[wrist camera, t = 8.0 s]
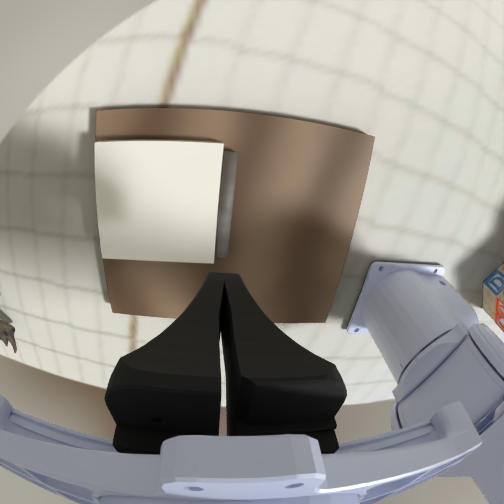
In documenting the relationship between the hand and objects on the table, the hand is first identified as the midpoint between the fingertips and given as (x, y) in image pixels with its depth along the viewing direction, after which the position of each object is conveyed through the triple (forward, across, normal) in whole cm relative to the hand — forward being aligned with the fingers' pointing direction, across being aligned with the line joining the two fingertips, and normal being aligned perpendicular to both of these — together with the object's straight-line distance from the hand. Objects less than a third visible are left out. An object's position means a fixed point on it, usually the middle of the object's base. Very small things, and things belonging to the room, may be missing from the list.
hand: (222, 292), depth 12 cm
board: (+9, 0, +1) cm, 9 cm away
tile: (+7, +4, -1) cm, 8 cm away
